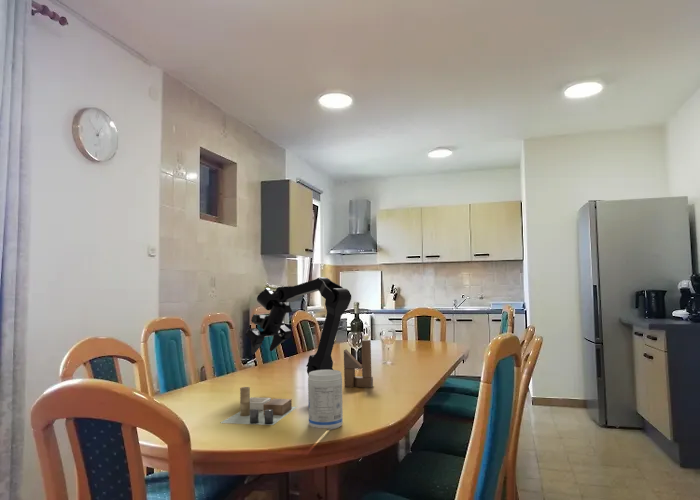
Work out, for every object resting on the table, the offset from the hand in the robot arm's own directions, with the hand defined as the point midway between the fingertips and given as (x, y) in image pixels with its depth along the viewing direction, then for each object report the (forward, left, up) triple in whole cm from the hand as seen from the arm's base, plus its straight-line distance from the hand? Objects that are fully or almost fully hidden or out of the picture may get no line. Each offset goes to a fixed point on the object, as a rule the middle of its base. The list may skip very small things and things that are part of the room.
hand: (261, 352), depth 180 cm
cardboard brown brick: (-18, +30, -14) cm, 38 cm away
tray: (-10, +27, -14) cm, 32 cm away
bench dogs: (-18, +43, -14) cm, 49 cm away
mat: (-14, +34, -15) cm, 40 cm away
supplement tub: (-36, +40, -15) cm, 56 cm away
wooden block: (-34, -15, -15) cm, 40 cm away
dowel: (-10, +35, -14) cm, 39 cm away
